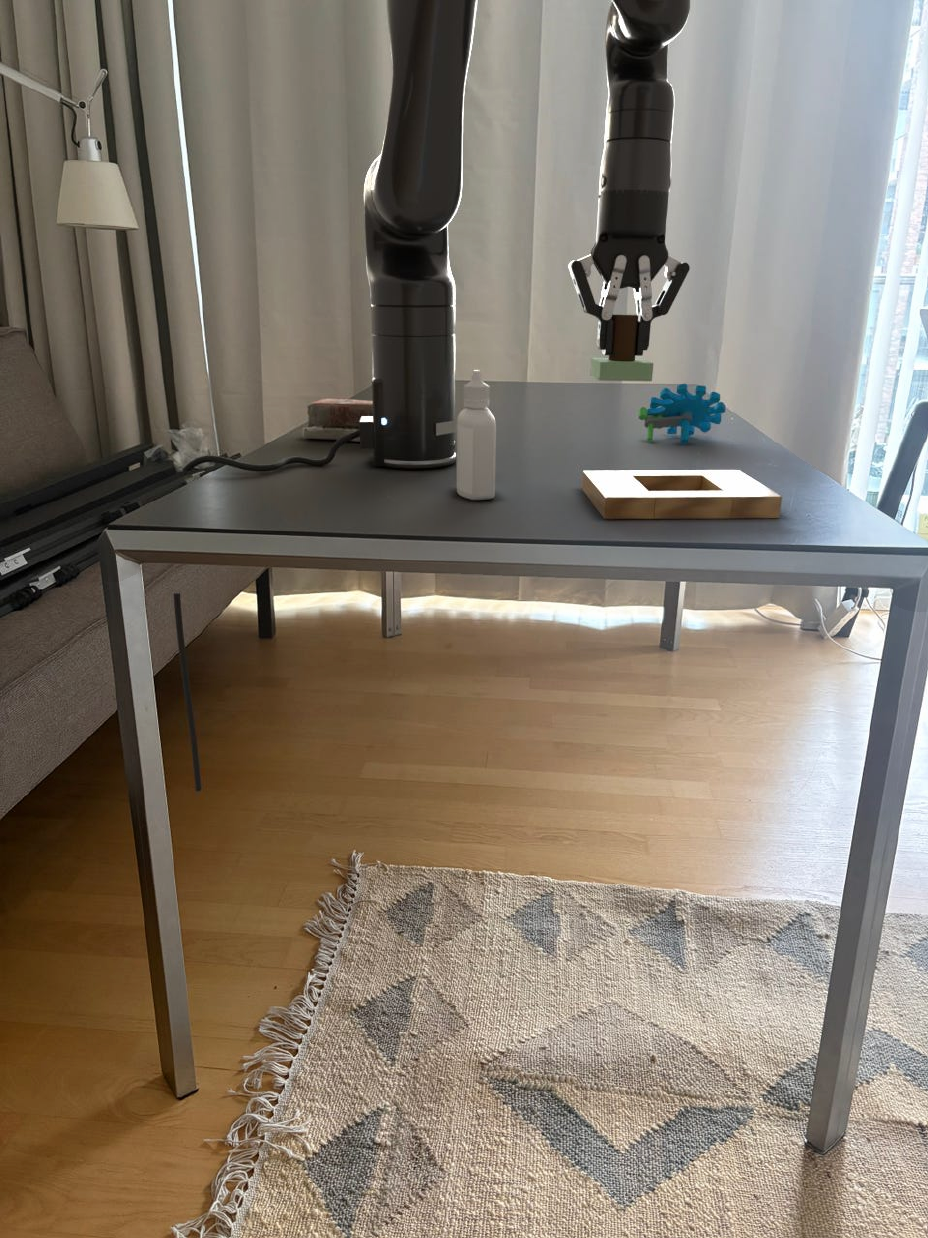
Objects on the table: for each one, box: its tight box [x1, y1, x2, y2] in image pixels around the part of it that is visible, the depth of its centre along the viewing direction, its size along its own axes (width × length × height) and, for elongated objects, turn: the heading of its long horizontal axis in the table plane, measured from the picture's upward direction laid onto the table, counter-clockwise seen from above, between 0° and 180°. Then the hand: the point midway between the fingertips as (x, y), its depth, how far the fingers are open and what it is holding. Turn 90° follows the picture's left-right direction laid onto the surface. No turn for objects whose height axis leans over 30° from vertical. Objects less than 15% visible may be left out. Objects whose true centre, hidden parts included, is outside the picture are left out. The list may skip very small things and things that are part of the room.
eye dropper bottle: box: [456, 369, 497, 501], centre depth 90 cm, size 4×6×12 cm
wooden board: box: [581, 469, 783, 520], centre depth 89 cm, size 16×12×2 cm
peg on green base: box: [589, 313, 654, 382], centre depth 106 cm, size 6×6×7 cm
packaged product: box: [301, 397, 373, 443], centre depth 124 cm, size 18×5×10 cm
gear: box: [638, 383, 726, 445], centre depth 122 cm, size 11×6×10 cm
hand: (621, 354), depth 107 cm, fingers closed on peg on green base, 3 cm apart
